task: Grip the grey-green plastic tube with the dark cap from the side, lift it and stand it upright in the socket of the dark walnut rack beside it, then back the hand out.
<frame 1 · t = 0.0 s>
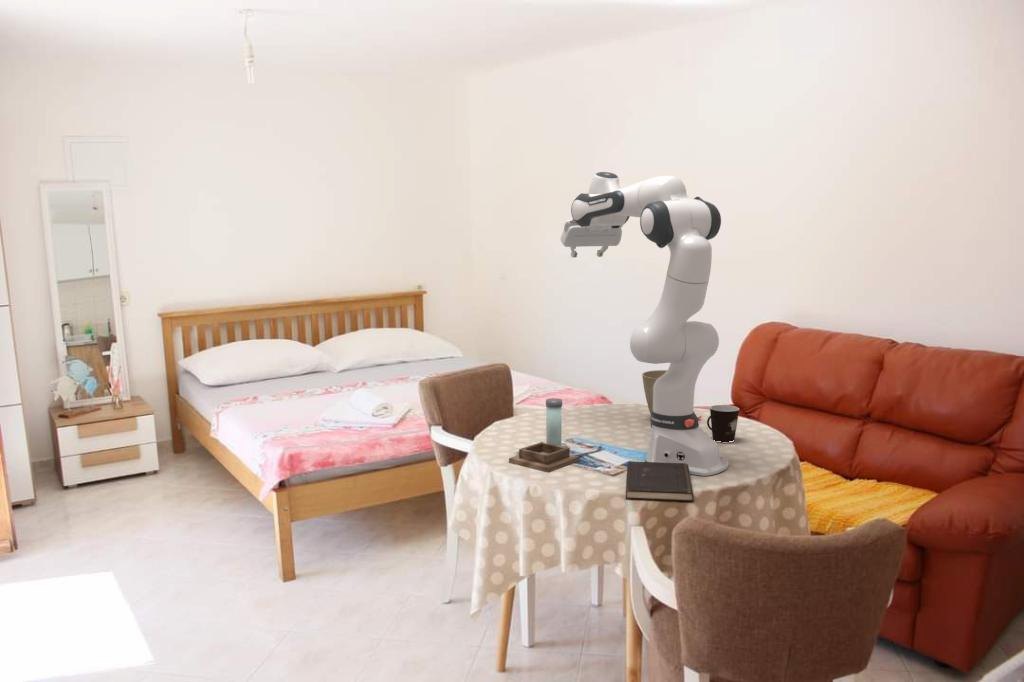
hand: (586, 256, 279), 54 cm above the table, tool tilted 30°, fingers open, 8 cm apart
capped tube: (553, 448, 249), on the table
walnut rack: (544, 461, 236), on the table
plant pot: (663, 422, 280), on the table
coffee mug: (718, 441, 257), on the table
hardcover book: (658, 485, 215), on the table, touching arm
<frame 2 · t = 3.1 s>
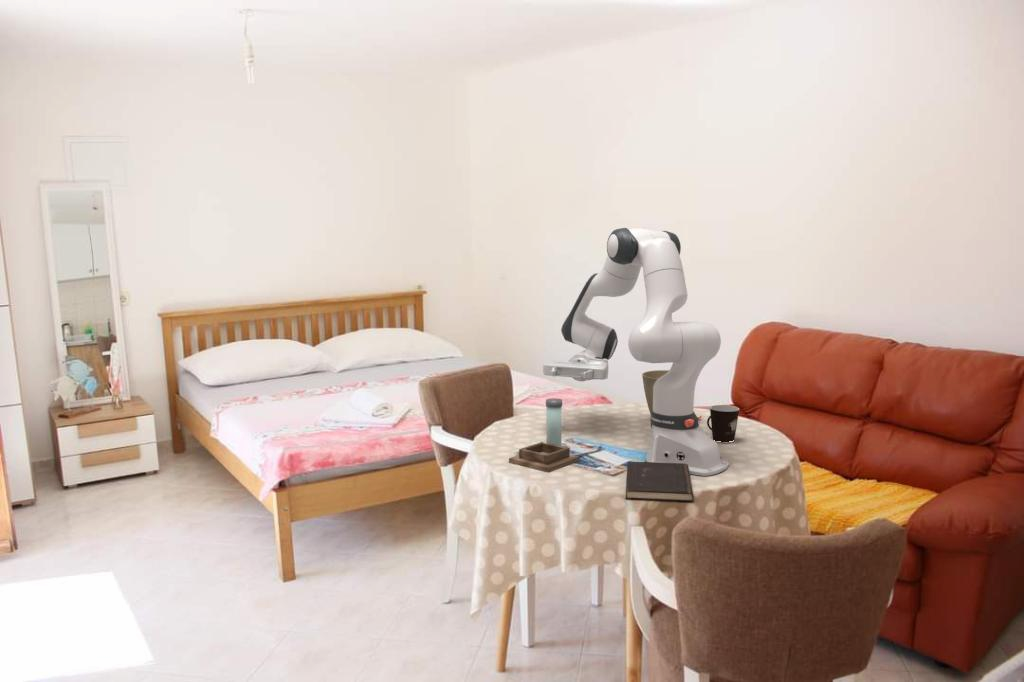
hand: (567, 374, 257), 20 cm above the table, tool horizontal, fingers open, 8 cm apart
nothing on the table moved.
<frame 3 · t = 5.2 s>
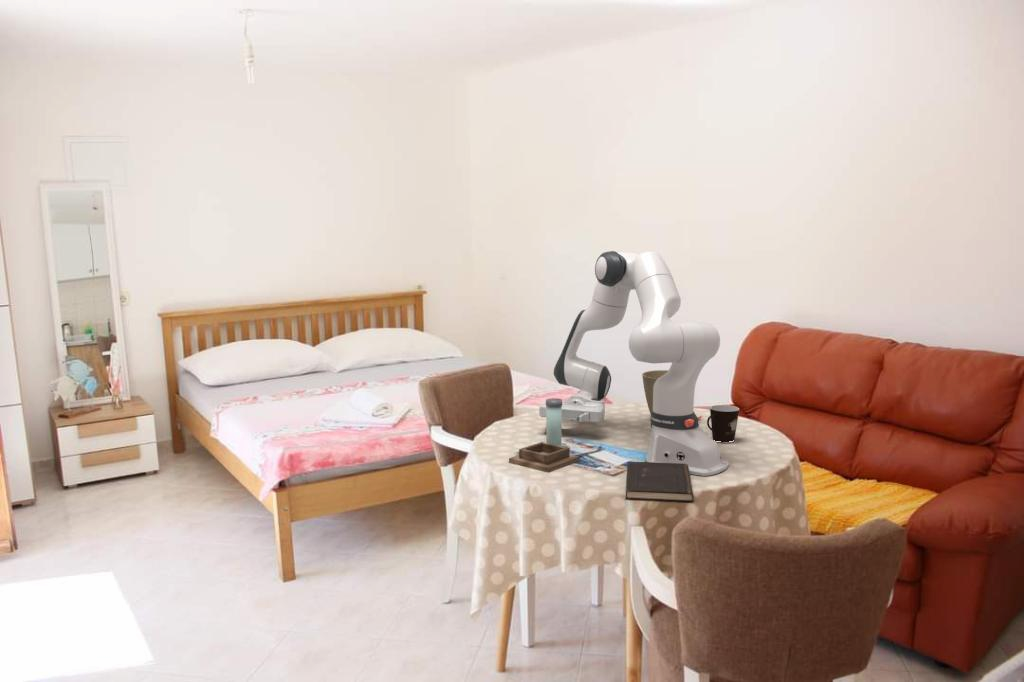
hand: (563, 417, 255), 7 cm above the table, tool horizontal, fingers open, 8 cm apart
nothing on the table moved.
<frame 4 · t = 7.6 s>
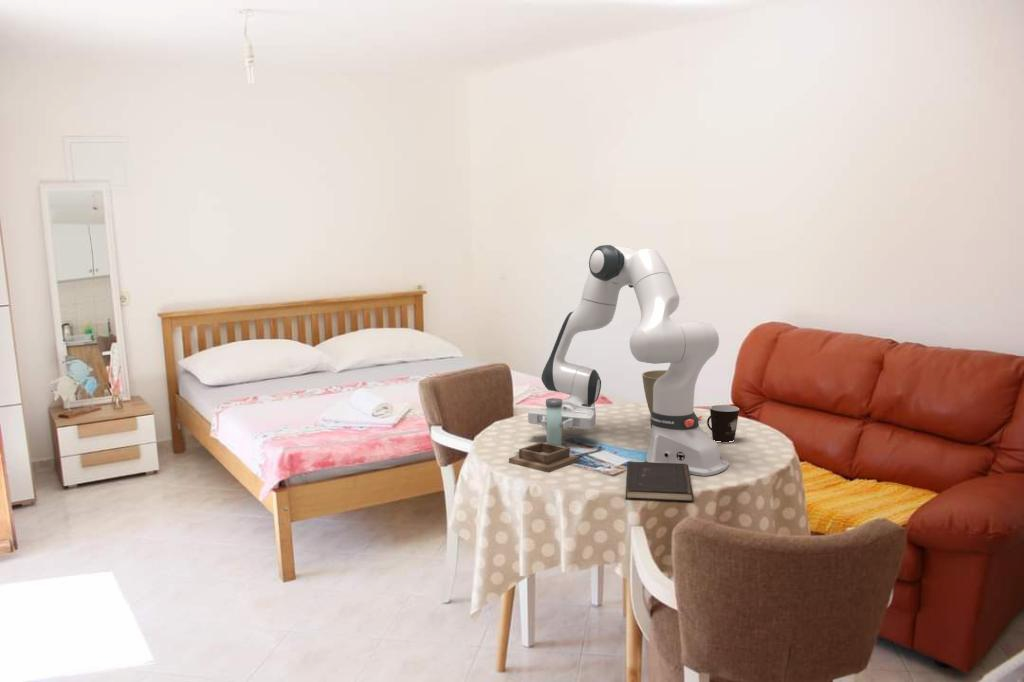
hand: (552, 424, 247), 8 cm above the table, tool horizontal, fingers closed on capped tube, 4 cm apart
capped tube: (553, 448, 249), on the table, touching gripper
everything else where it was.
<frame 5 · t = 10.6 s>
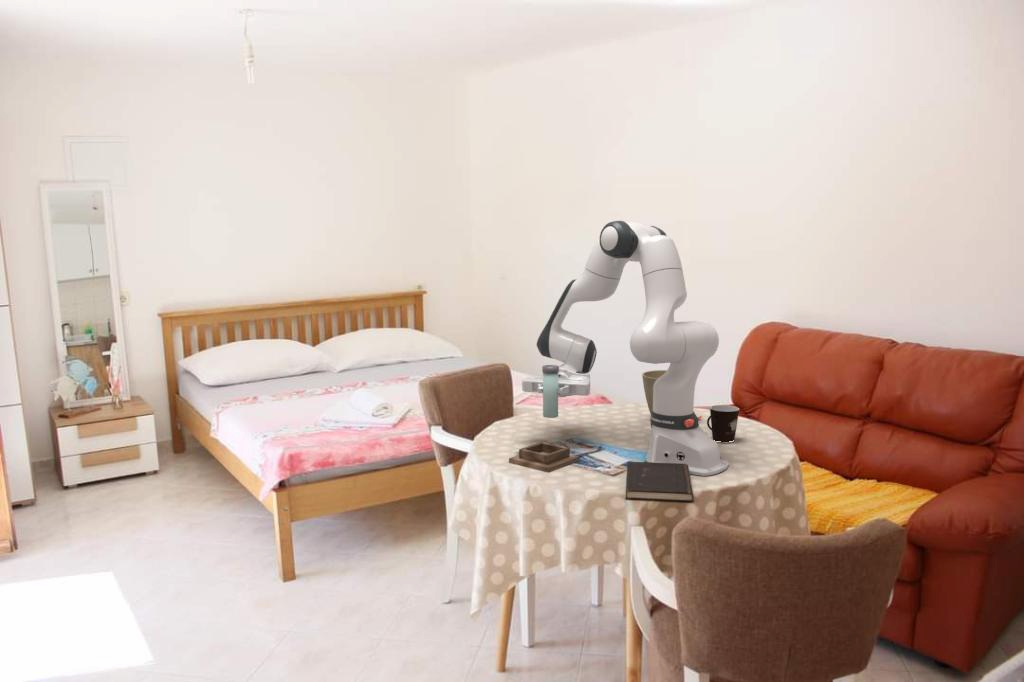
hand: (549, 391, 243), 18 cm above the table, tool horizontal, fingers closed on capped tube, 4 cm apart
capped tube: (550, 416, 245), point 10 cm above the table, touching gripper
everything else where it was.
when the fingers open (10 cm above the table, at t = 13.8 s): capped tube drops 1 cm, resting on walnut rack.
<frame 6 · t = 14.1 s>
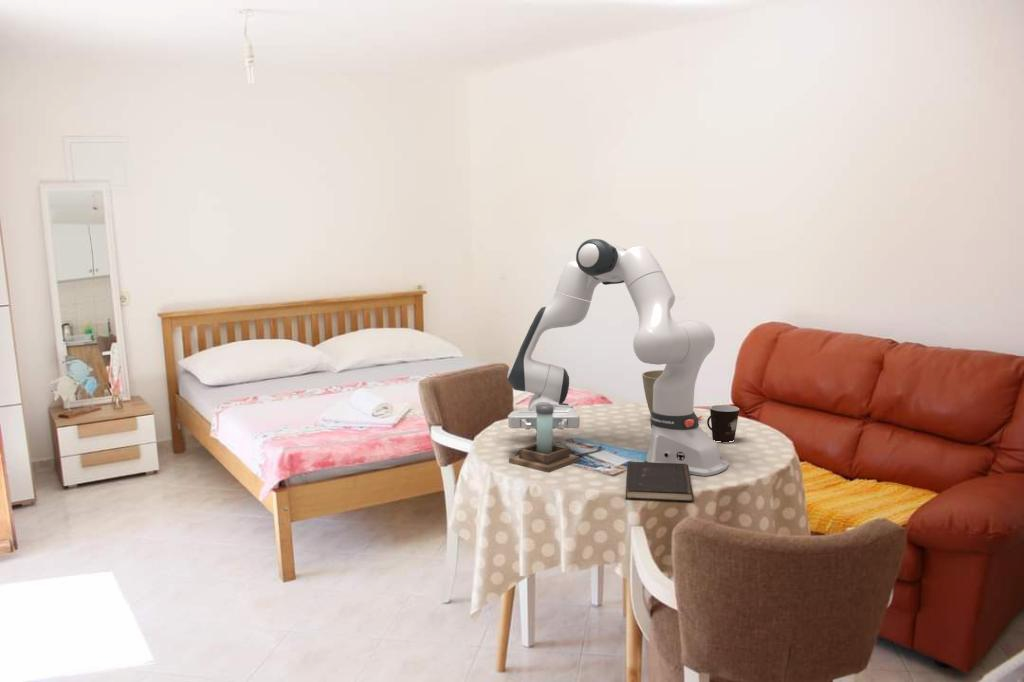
hand: (544, 426, 233), 10 cm above the table, tool horizontal, fingers open, 8 cm apart
capped tube: (544, 457, 236), point 1 cm above the table, touching walnut rack
everything else where it was.
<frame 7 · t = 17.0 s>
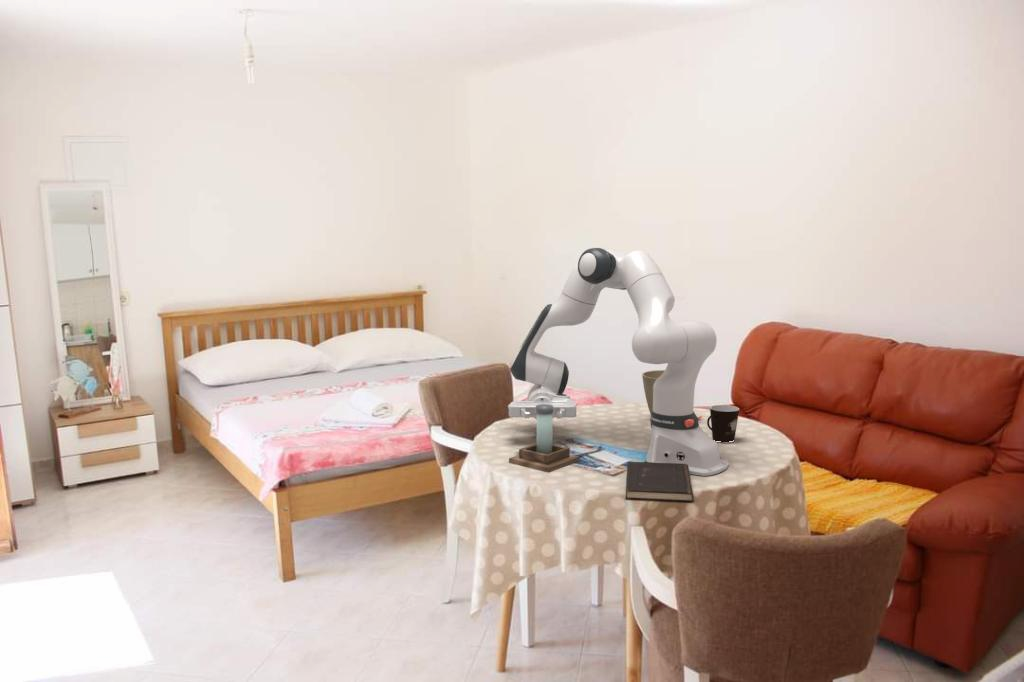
hand: (542, 415, 246), 10 cm above the table, tool horizontal, fingers open, 8 cm apart
nothing on the table moved.
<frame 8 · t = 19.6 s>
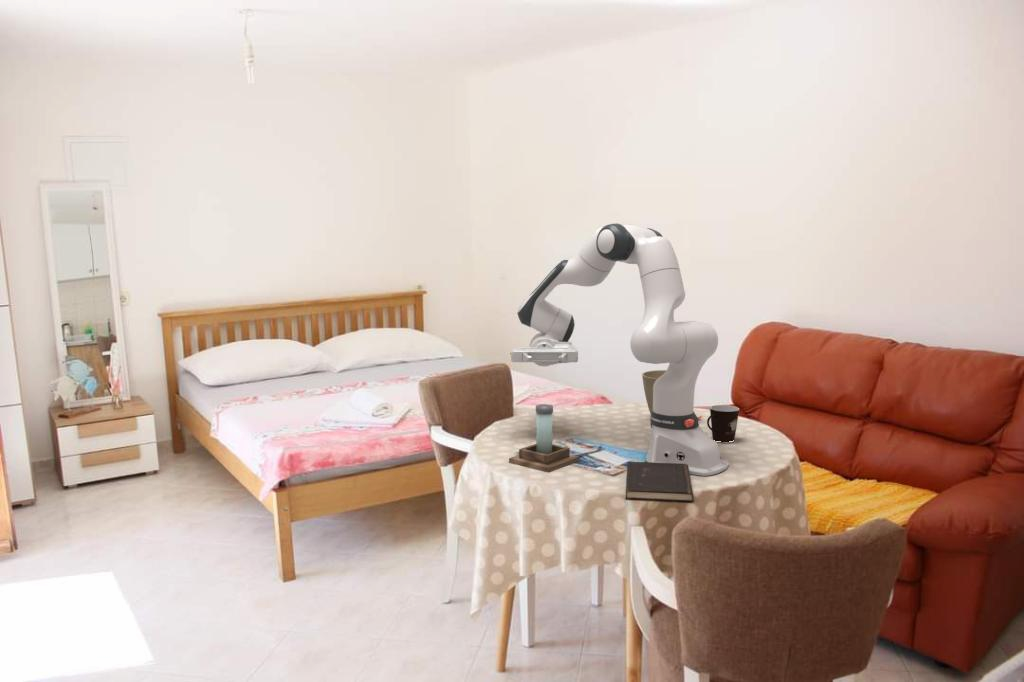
hand: (545, 359, 249), 26 cm above the table, tool horizontal, fingers open, 8 cm apart
nothing on the table moved.
at the end: capped tube 0.0 cm off-centre on the walnut rack, point 1.2 cm above the walnut rack's base; capped tube tilted 0°; the gripper is holding nothing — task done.
